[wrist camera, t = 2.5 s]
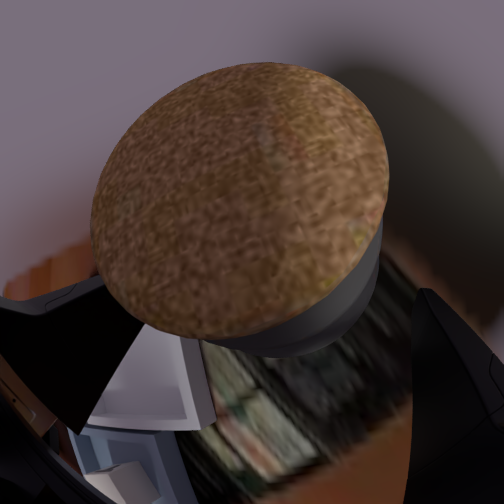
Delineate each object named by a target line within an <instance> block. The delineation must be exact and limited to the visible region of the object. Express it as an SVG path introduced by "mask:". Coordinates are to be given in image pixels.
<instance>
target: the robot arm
mask: <svg viewBox="0 0 504 504" xmlns="http://www.w3.org/2000/svg"><path fill="white" fill-rule="evenodd" d="M144 325H145V323H144V322H142V321H140V320H138V319H137V318H135V317H134V316H132V315H131V314H130V313H129V312H127V311H126V310H125V309H124V308H123V307H122V306H121V305H120V303H119V302H118V301H117V300H116V299H115V298H114V297H113V296H112V295H111V294H110V292H109V290H108V289H107V287H106V285H105V283H104V281H103V280H102V278H101V276H100V275H97V276H95V277H92V278H89V279H86V280H84V281H81V282H79V283H75V284H73V285H70V286H67V287H64V288H62V289H59V290H56V291H53V292H50V293H47V294H44V295H41V296H38V297H35V298H32V299H29V300H25V301H14V300H10V299H7V298H4V297H1V296H0V504H117V503H116V502H114V501H113V500H111V499H110V498H109V497H107V496H106V495H104V494H103V493H102V492H100V491H99V490H98V489H96V488H95V487H94V486H93V485H91V484H90V483H89V482H88V481H86V480H85V479H84V478H83V477H82V476H80V475H79V474H78V473H77V472H76V471H75V470H74V469H72V468H71V467H70V466H69V465H68V464H67V463H66V462H65V461H64V460H63V459H62V458H61V457H59V456H58V455H59V441H58V429H56V428H55V427H54V426H53V423H54V422H55V421H56V420H57V418H58V419H59V420H60V421H61V422H62V423H63V424H65V425H66V426H67V427H68V428H69V429H70V430H71V431H73V432H74V433H75V434H76V435H77V436H79V435H80V433H81V432H82V430H83V428H84V426H85V424H86V422H87V421H88V419H89V417H90V415H91V413H92V412H93V410H94V408H95V406H96V404H97V403H98V401H99V399H100V397H101V396H102V394H103V392H104V390H105V388H106V387H107V385H108V383H109V382H110V380H111V378H112V376H113V375H114V373H115V371H116V370H117V368H118V366H119V365H120V363H121V362H122V360H123V358H124V357H125V355H126V353H127V352H128V350H129V349H130V347H131V345H132V344H133V342H134V341H135V339H136V337H137V336H138V334H139V333H140V331H141V329H142V328H143V326H144ZM492 353H493V352H492V350H491V349H490V348H489V347H488V346H487V345H486V344H485V343H484V341H483V340H482V339H481V338H480V337H479V336H478V335H477V334H476V333H475V332H474V331H473V329H472V328H471V327H470V326H469V325H468V324H467V323H466V322H465V321H464V320H463V319H462V318H461V317H460V316H459V315H458V314H457V313H456V312H455V311H454V310H453V309H452V308H451V307H450V306H449V305H448V304H447V303H446V302H445V301H444V300H443V299H442V298H441V297H440V296H439V295H438V294H437V293H436V292H435V291H434V290H432V289H430V288H420V289H419V291H418V294H417V297H416V300H415V303H414V306H413V309H412V341H411V364H412V388H413V416H412V439H411V452H410V462H409V471H408V479H407V484H406V490H405V496H404V501H403V504H504V364H503V363H502V362H501V361H500V360H499V359H498V357H497V356H496V355H495V354H494V353H493V354H492Z"/></svg>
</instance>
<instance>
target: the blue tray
mask: <svg viewBox="0 0 504 504" xmlns="http://www.w3.org/2000/svg"><path fill="white" fill-rule="evenodd" d="M67 428H68V427H67ZM68 432H69V435H70V439H71V442H72V445H73V448H74V452H75V454H76V457H77V460H78V463H79V466H80V468H81V471H82V474H83V476H84V475H85V474H88V473H91V472H94V471H97V470H100V469H102V468H105V467H108V466H111V465H114V464H121V463H128V462H134V461H139V462H140V464H141V465H142V467H143V469H144V470H145V472H146V474H147V476H148V477H149V479H150V480H151V482H152V484H153V485H154V487H155V488H156V490H157V491H158V493H159V494H160V496H161V497H160V498H159V499H157V500H156V501H154V502H153V503H151V504H199V503H198V501H197V498H196V496H195V493H194V491H193V488H192V486H191V483H190V480H189V477H188V475H187V472H186V469H185V466H184V463H183V460H182V457H181V454H180V451H179V448H178V444H177V441H176V438H175V434H174V431H173V430H141V429H127V428H116V427H107V426H99V425H92V424H88V421H87V422H86V424H85V426H84V428H83V430H82V432H81V433H80V435H79V436H77V435H76V434H75V433H74V432H73V431H71V430H70V429H69V428H68ZM84 479H85V480H86V478H85V477H84ZM86 481H87V480H86Z"/></svg>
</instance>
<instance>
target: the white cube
mask: <svg viewBox="0 0 504 504" xmlns="http://www.w3.org/2000/svg"><path fill="white" fill-rule="evenodd" d="M84 477H85V478H86V480H87V481H88V482H89V483H90V484H91V485H93V486H94V487H95V488H96V489H98V490H99V491H100V492H102V493H103V494H104V495H106V496H107V497H109V498H110V499H111V500H113V501H114V502H116V503H117V504H151V503H153V502H154V501H156V500H157V499H159V498H160V497H161V496H160V494H159V493H158V491H157V490H156V488H155V487H154V485H153V484H152V482H151V480H150V479H149V477H148V476H147V474H146V472H145V470H144V469H143V467H142V465H141V464H140V462H139V461H134V462H128V463H121V464H114V465H111V466H108V467H105V468H102V469H100V470H97V471H94V472H91V473H88V474H85V475H84Z"/></svg>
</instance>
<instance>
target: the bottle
mask: <svg viewBox="0 0 504 504" xmlns="http://www.w3.org/2000/svg"><path fill="white" fill-rule="evenodd" d="M388 185H389V164H388V156H387V151H386V147H385V143H384V140H383V137H382V134H381V131H380V128H379V127H378V125H377V123H376V122H375V120H374V118H373V117H372V115H371V113H370V112H369V110H368V109H367V108H366V106H365V105H364V104H363V103H362V102H361V101H360V100H359V99H358V98H357V97H356V96H355V95H354V94H353V93H352V92H351V91H350V90H348V89H347V88H346V87H344V86H343V85H342V84H340V83H339V82H337V81H336V80H334V79H332V78H330V77H328V76H326V75H324V74H321V73H320V72H317V71H314V70H311V69H307V68H304V67H300V66H297V65H290V64H282V63H272V62H265V63H249V64H240V65H236V66H231V67H227V68H223V69H219V70H216V71H212V72H210V73H206V74H204V75H201V76H199V77H197V78H195V79H193V80H191V81H189V82H187V83H184V84H182V85H181V86H179V87H178V88H176V89H174V90H173V91H171V92H170V93H168V94H167V95H165V96H164V97H162V98H161V99H159V100H158V101H157V102H156V103H154V104H153V105H152V106H151V107H150V108H149V109H147V110H146V111H145V112H144V113H143V114H142V115H141V116H140V117H139V118H138V119H137V120H136V121H135V122H134V123H133V125H131V127H130V128H129V129H128V130H127V132H126V133H125V134H124V136H123V137H122V138H121V140H120V141H119V142H118V144H117V145H116V147H115V148H114V150H113V152H112V153H111V155H110V157H109V159H108V161H107V163H106V165H105V167H104V169H103V171H102V173H101V176H100V178H99V181H98V185H97V188H96V191H95V195H94V198H93V204H92V212H91V220H90V232H91V244H92V251H93V256H94V260H95V263H96V266H97V269H98V272H99V274H100V276H101V278H102V280H103V281H104V283H105V285H106V287H107V289H108V290H109V292H110V294H111V295H112V296H113V297H114V298H115V299H116V300H117V301H118V302H119V303H120V305H121V306H122V307H123V308H124V309H125V310H126V311H127V312H129V313H130V314H131V315H132V316H134V317H135V318H137V319H138V320H140V321H142V322H144V323H145V324H147V325H149V326H151V327H153V328H154V329H156V330H159V331H162V332H165V333H169V334H172V335H176V336H179V337H183V338H188V339H202V340H204V341H206V342H208V343H212V344H215V345H219V346H222V347H226V348H229V349H236V350H241V351H243V352H245V353H249V354H252V355H256V356H262V357H269V358H284V357H295V356H302V355H305V354H309V353H312V352H314V351H316V350H319V349H321V348H324V347H326V346H327V345H329V344H331V343H332V342H334V341H335V340H337V339H338V338H339V337H341V336H342V335H343V334H344V333H345V332H346V331H347V330H348V329H349V328H350V327H351V326H352V325H353V324H354V323H355V322H356V321H357V320H358V318H359V317H360V315H361V314H362V313H363V311H364V310H365V308H366V306H367V304H368V302H369V300H370V298H371V295H372V293H373V291H374V288H375V284H376V279H377V275H378V268H379V252H380V247H381V240H382V229H383V212H384V209H385V205H386V202H387V194H388Z"/></svg>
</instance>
